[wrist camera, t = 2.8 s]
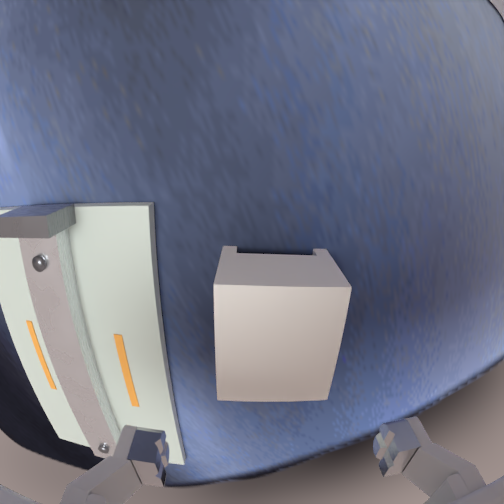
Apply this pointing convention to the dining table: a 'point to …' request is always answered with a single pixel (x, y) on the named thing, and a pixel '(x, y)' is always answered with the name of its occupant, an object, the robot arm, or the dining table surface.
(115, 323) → the mounting board
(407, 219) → the dining table surface
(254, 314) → the block
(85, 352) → the rail
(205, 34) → the dining table surface
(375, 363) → the dining table surface
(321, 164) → the dining table surface
